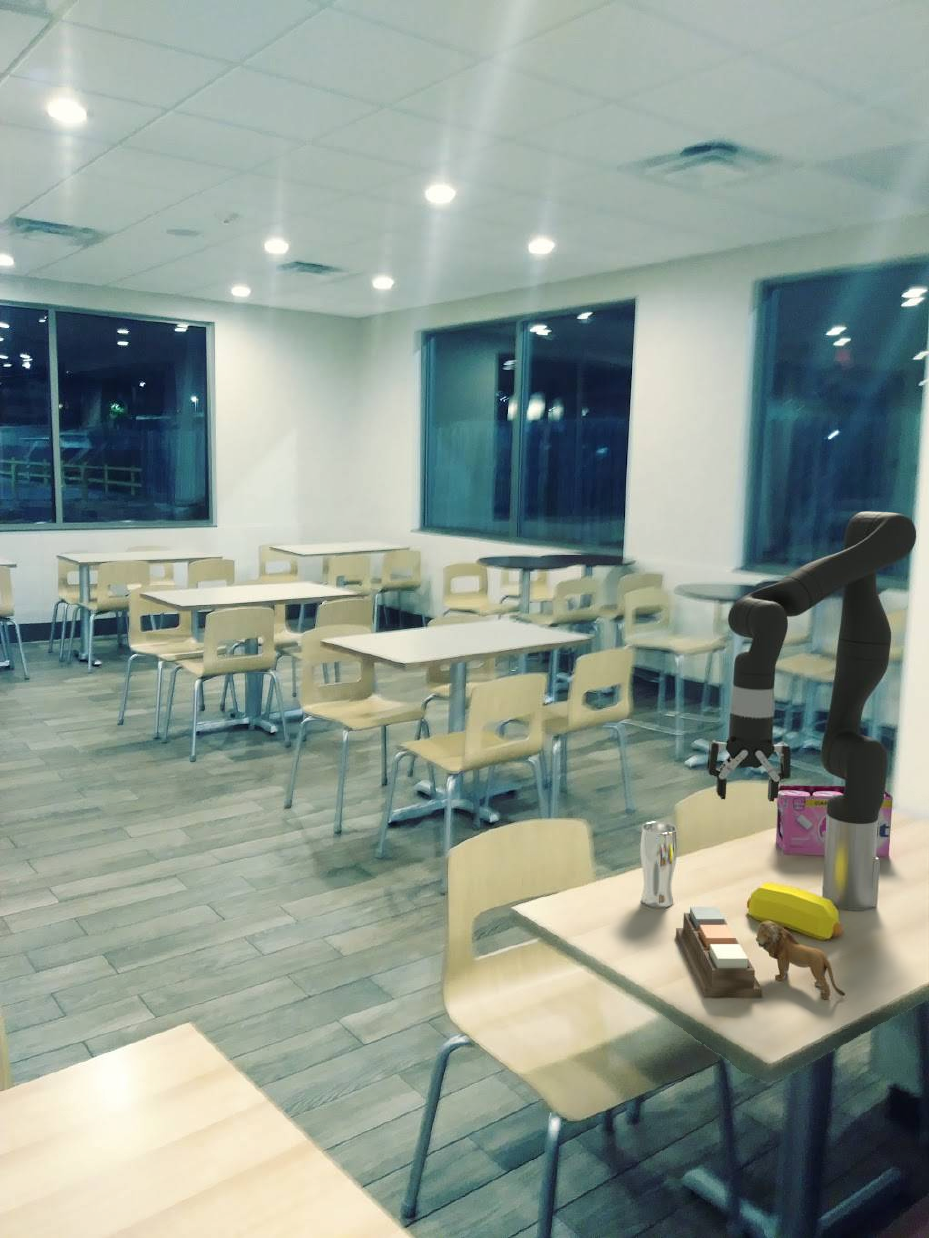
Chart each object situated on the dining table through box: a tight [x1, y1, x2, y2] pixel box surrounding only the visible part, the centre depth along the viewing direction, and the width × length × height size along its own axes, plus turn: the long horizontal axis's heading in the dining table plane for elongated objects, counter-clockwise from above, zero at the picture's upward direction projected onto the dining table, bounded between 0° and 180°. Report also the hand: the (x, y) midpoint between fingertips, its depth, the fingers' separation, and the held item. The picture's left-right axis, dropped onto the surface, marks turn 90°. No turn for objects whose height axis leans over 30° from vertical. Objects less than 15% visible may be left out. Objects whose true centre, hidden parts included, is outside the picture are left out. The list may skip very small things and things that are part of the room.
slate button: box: [689, 906, 725, 928], centre depth 170 cm, size 5×5×3 cm
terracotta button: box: [699, 924, 737, 947], centre depth 163 cm, size 5×5×3 cm
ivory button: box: [710, 943, 749, 968], centre depth 156 cm, size 5×5×3 cm
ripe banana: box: [746, 881, 843, 941], centre depth 178 cm, size 18×7×8 cm
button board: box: [675, 912, 763, 999], centre depth 163 cm, size 9×21×4 cm, turn 0°
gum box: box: [775, 784, 894, 857], centre depth 214 cm, size 24×8×14 cm, turn 88°
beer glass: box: [639, 821, 678, 909], centre depth 187 cm, size 7×7×15 cm
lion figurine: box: [755, 920, 846, 1000], centre depth 157 cm, size 15×5×9 cm, turn 50°
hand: (746, 799), depth 174 cm, fingers open, 8 cm apart
